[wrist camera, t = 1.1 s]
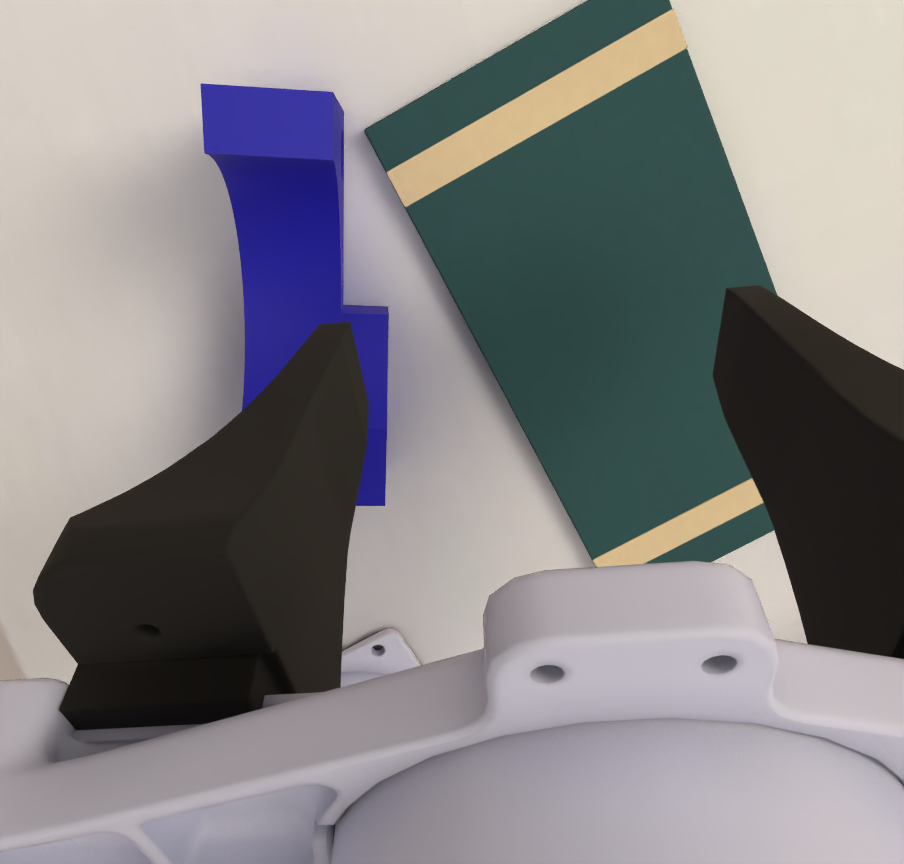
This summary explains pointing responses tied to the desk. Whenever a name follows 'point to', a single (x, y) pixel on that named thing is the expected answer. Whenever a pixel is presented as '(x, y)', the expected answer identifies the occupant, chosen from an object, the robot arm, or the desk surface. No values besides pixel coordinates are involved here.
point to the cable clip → (294, 240)
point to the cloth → (595, 268)
